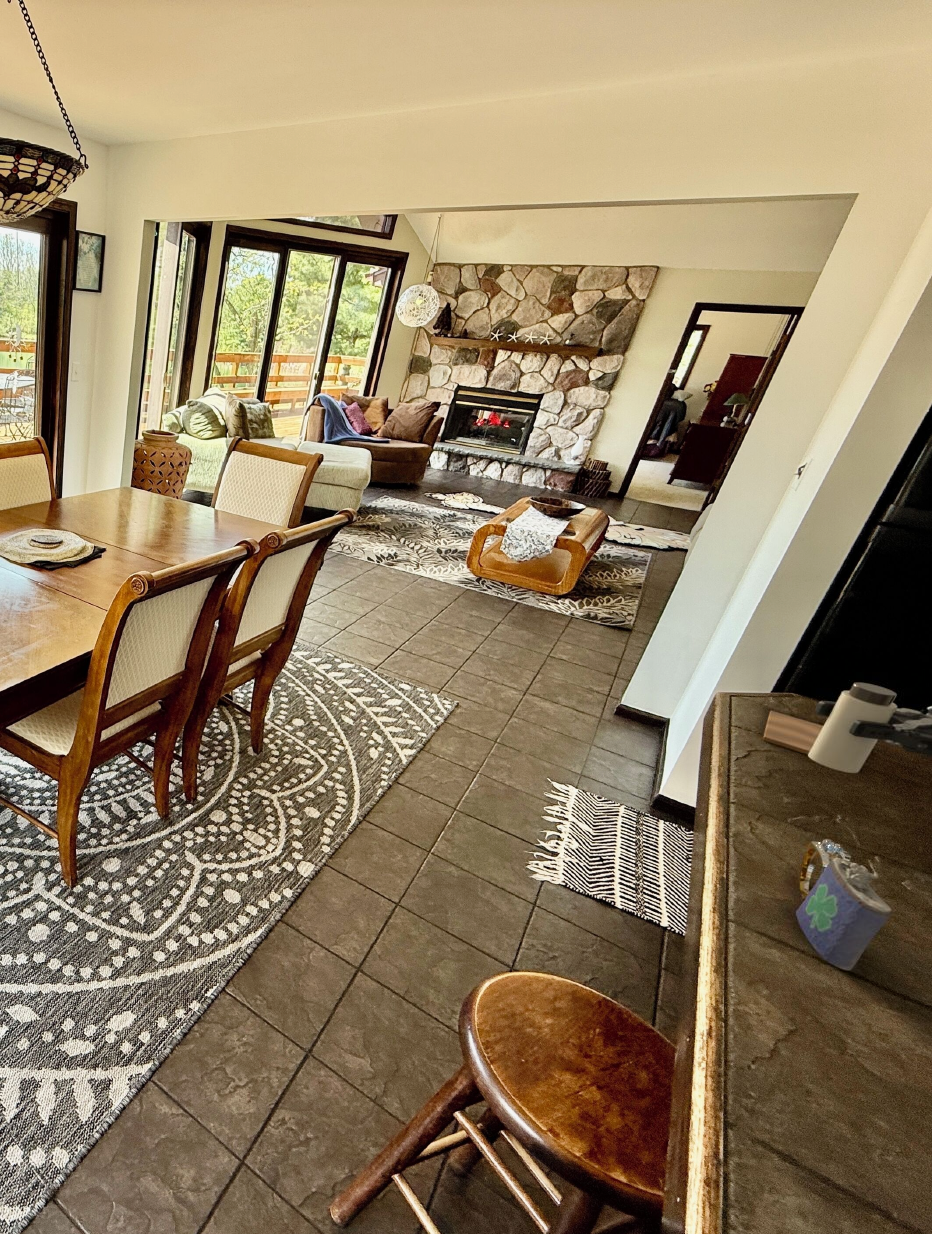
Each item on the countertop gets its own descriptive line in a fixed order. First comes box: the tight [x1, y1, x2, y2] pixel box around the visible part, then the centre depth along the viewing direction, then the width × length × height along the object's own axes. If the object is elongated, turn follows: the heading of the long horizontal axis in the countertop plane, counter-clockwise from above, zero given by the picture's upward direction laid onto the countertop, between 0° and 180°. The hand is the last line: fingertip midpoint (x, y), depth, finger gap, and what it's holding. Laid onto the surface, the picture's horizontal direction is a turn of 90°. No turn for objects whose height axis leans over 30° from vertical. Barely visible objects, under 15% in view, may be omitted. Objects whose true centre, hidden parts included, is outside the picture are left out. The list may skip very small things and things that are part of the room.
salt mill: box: [807, 682, 898, 774], centre depth 92 cm, size 5×5×12 cm
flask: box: [795, 857, 893, 971], centre depth 70 cm, size 9×3×11 cm, turn 150°
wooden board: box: [762, 710, 824, 756], centre depth 117 cm, size 16×11×1 cm
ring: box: [797, 838, 852, 900], centre depth 78 cm, size 7×3×8 cm, turn 138°
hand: (836, 717), depth 92 cm, fingers closed on salt mill, 5 cm apart
